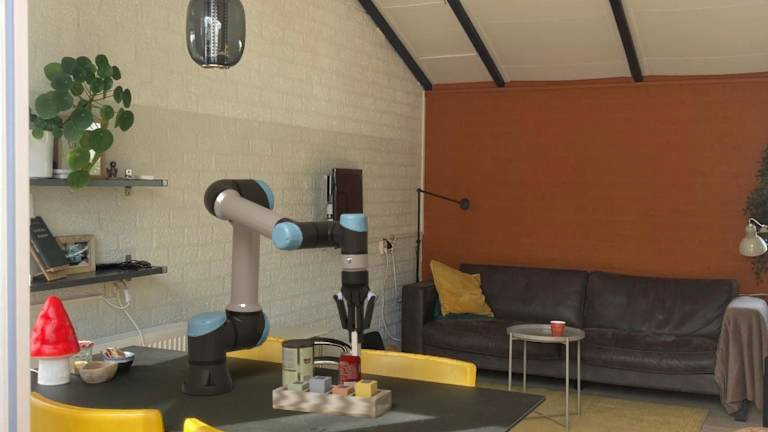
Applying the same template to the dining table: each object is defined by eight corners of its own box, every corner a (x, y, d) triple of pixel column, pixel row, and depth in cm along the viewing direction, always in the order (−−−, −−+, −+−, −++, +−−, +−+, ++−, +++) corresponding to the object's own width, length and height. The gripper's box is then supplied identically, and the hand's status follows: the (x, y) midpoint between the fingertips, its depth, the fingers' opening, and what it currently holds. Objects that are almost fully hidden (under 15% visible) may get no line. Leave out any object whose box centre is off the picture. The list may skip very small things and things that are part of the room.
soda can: (358, 395, 252) (358, 355, 251) (336, 394, 253) (336, 354, 253) (363, 390, 258) (363, 351, 258) (341, 389, 260) (341, 350, 259)
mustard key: (355, 401, 232) (355, 382, 231) (362, 397, 236) (361, 379, 236) (370, 402, 230) (370, 383, 230) (377, 398, 234) (377, 380, 234)
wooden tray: (272, 408, 237) (272, 390, 237) (292, 398, 248) (292, 381, 248) (374, 418, 226) (374, 400, 225) (391, 408, 237) (391, 390, 237)
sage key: (287, 401, 239) (287, 383, 239) (295, 398, 244) (295, 380, 244) (302, 403, 238) (301, 384, 238) (309, 399, 242) (309, 381, 242)
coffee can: (292, 381, 270) (292, 337, 270) (321, 384, 266) (320, 340, 265) (275, 388, 261) (275, 343, 260) (304, 391, 256) (304, 345, 256)
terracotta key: (332, 406, 234) (332, 387, 234) (339, 402, 239) (339, 384, 238) (347, 407, 233) (347, 388, 232) (354, 403, 237) (354, 385, 237)
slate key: (309, 396, 237) (309, 378, 237) (317, 393, 241) (316, 375, 241) (324, 398, 235) (324, 379, 235) (331, 394, 239) (331, 376, 239)
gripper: (327, 270, 232) (329, 356, 232) (371, 270, 227) (373, 358, 227) (339, 268, 239) (341, 351, 239) (381, 268, 234) (383, 353, 234)
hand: (356, 354), depth 233 cm, fingers closed
